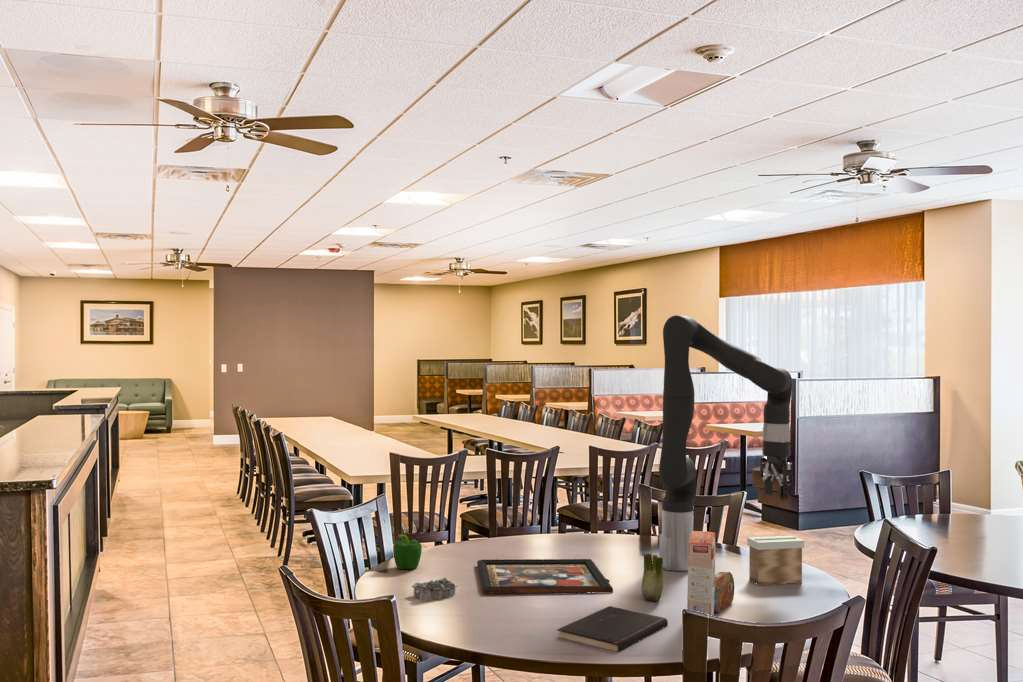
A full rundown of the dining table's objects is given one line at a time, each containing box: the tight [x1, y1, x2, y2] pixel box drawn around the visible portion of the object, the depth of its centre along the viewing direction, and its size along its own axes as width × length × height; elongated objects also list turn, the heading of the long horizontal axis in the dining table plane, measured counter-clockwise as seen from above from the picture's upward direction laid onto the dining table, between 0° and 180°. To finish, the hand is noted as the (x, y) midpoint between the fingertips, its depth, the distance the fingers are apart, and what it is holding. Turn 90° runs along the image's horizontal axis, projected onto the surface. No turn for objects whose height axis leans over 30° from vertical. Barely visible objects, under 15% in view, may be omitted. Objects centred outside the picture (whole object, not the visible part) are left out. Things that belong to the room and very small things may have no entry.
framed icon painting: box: [476, 558, 614, 596], centre depth 250 cm, size 38×35×3 cm
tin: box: [714, 571, 735, 613], centre depth 223 cm, size 15×3×8 cm, turn 146°
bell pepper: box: [392, 534, 423, 570], centre depth 260 cm, size 8×8×10 cm
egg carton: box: [411, 577, 458, 602], centre depth 232 cm, size 11×8×4 cm
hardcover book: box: [556, 605, 669, 653], centre depth 204 cm, size 16×23×2 cm
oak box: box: [748, 546, 803, 586], centre depth 248 cm, size 13×6×10 cm, turn 102°
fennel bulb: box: [641, 553, 664, 602], centre depth 229 cm, size 6×5×12 cm
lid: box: [746, 535, 805, 550], centre depth 248 cm, size 14×7×3 cm, turn 103°
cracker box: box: [686, 530, 716, 616], centre depth 210 cm, size 14×6×21 cm, turn 164°
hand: (775, 496), depth 248 cm, fingers open, 8 cm apart
